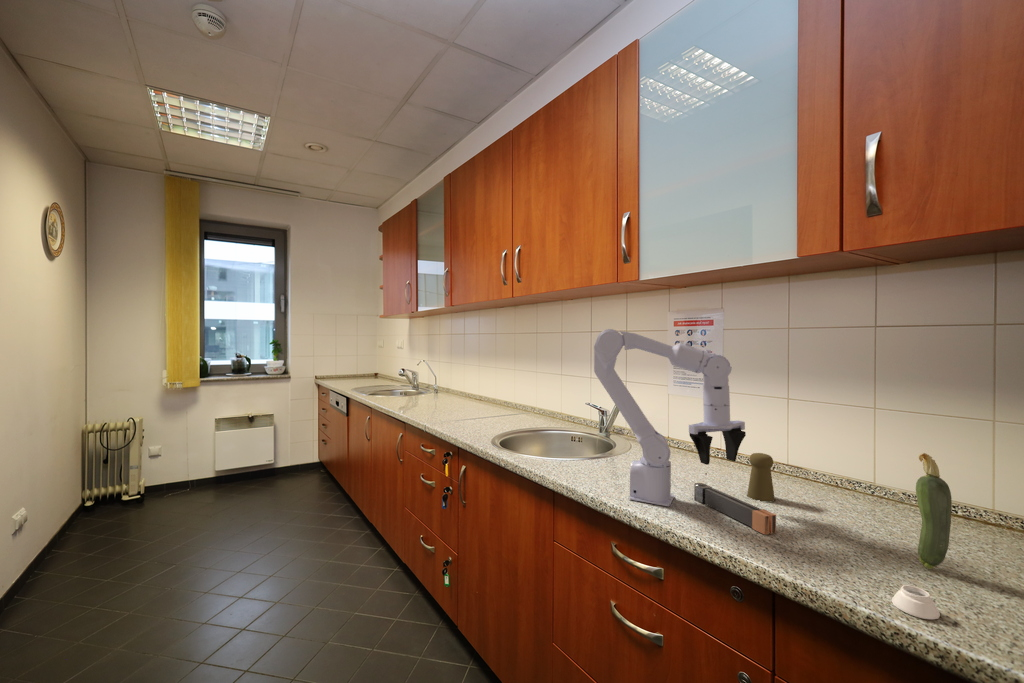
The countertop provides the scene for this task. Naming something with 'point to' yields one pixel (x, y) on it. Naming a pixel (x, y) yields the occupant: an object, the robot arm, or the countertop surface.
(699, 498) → the tongs hub
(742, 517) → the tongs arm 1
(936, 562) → the vegetable
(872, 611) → the countertop surface
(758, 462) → the cork
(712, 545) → the countertop surface
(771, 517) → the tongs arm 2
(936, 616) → the upside-down white bowl
